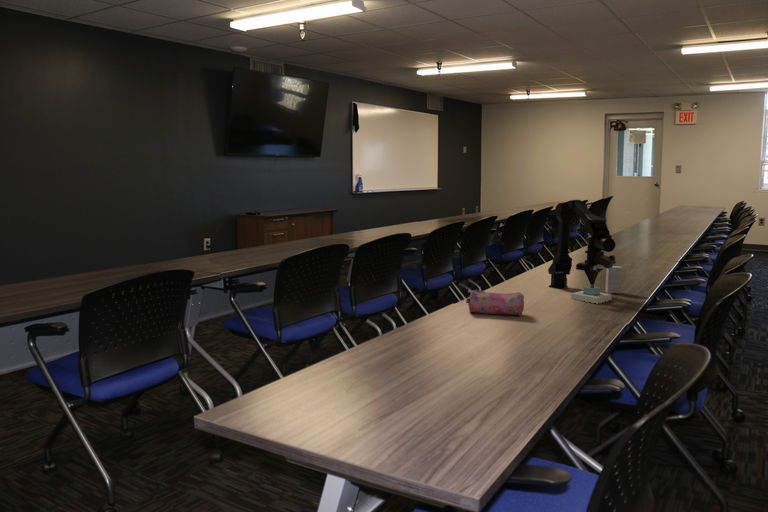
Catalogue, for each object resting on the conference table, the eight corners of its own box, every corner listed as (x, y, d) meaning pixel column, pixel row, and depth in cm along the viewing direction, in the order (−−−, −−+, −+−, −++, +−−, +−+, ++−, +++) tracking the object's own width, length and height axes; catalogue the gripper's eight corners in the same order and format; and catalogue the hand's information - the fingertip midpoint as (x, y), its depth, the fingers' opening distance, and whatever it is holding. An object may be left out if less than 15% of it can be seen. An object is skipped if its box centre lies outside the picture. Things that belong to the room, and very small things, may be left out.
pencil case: (465, 314, 232) (466, 291, 230) (468, 309, 240) (469, 286, 239) (522, 319, 226) (523, 295, 225) (524, 313, 235) (525, 290, 233)
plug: (582, 298, 260) (583, 285, 259) (588, 297, 263) (589, 283, 262) (593, 300, 256) (594, 286, 255) (599, 299, 260) (600, 285, 259)
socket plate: (571, 299, 260) (571, 293, 260) (585, 295, 268) (585, 289, 268) (597, 304, 251) (597, 298, 251) (611, 300, 259) (611, 294, 259)
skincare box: (618, 292, 276) (620, 266, 275) (621, 294, 272) (622, 267, 270) (604, 291, 277) (606, 265, 275) (607, 293, 273) (608, 267, 271)
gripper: (601, 252, 244) (598, 290, 247) (623, 248, 257) (620, 285, 259) (576, 249, 253) (574, 286, 255) (598, 246, 265) (596, 281, 267)
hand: (592, 284), depth 259 cm, fingers closed
